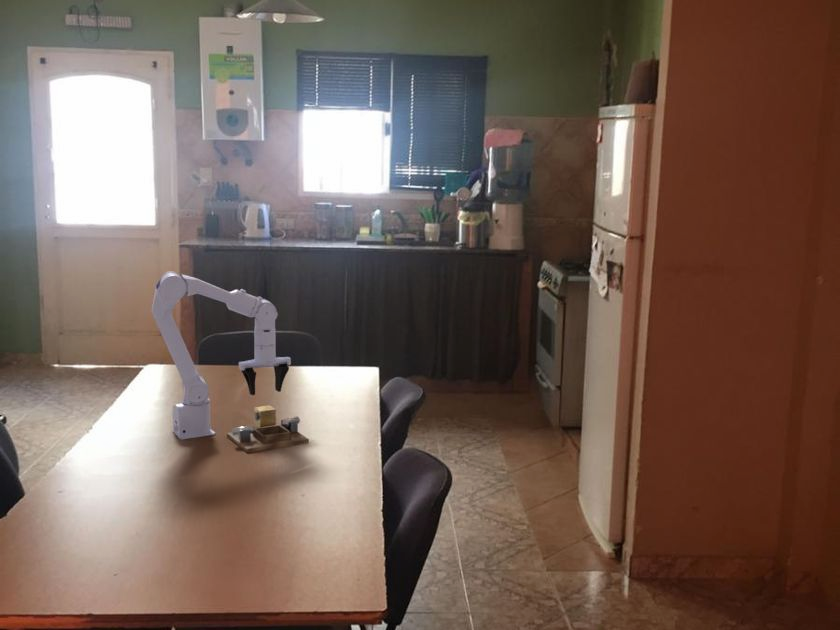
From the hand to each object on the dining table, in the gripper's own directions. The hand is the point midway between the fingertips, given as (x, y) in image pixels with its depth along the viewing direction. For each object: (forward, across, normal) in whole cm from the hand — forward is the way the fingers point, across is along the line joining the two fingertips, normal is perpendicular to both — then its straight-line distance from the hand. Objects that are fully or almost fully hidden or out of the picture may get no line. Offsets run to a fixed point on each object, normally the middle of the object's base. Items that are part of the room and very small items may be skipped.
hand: (265, 392), depth 240 cm
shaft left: (+9, -11, -11) cm, 18 cm away
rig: (+10, -4, -11) cm, 15 cm away
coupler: (+10, 0, 0) cm, 10 cm away
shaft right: (+9, +3, -10) cm, 14 cm away
